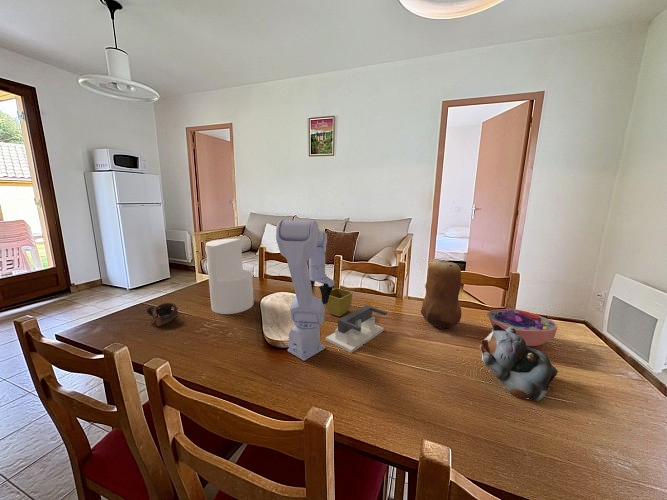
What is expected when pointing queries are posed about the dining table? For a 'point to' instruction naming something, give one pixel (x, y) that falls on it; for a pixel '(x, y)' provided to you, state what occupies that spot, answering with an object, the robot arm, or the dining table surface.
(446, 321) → the butternut squash
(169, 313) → the pottery mug
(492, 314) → the cell model
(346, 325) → the grey c-shaped bracket
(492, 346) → the lucky cat figurine
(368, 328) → the stand
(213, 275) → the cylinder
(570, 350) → the dining table surface
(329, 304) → the flower pot
